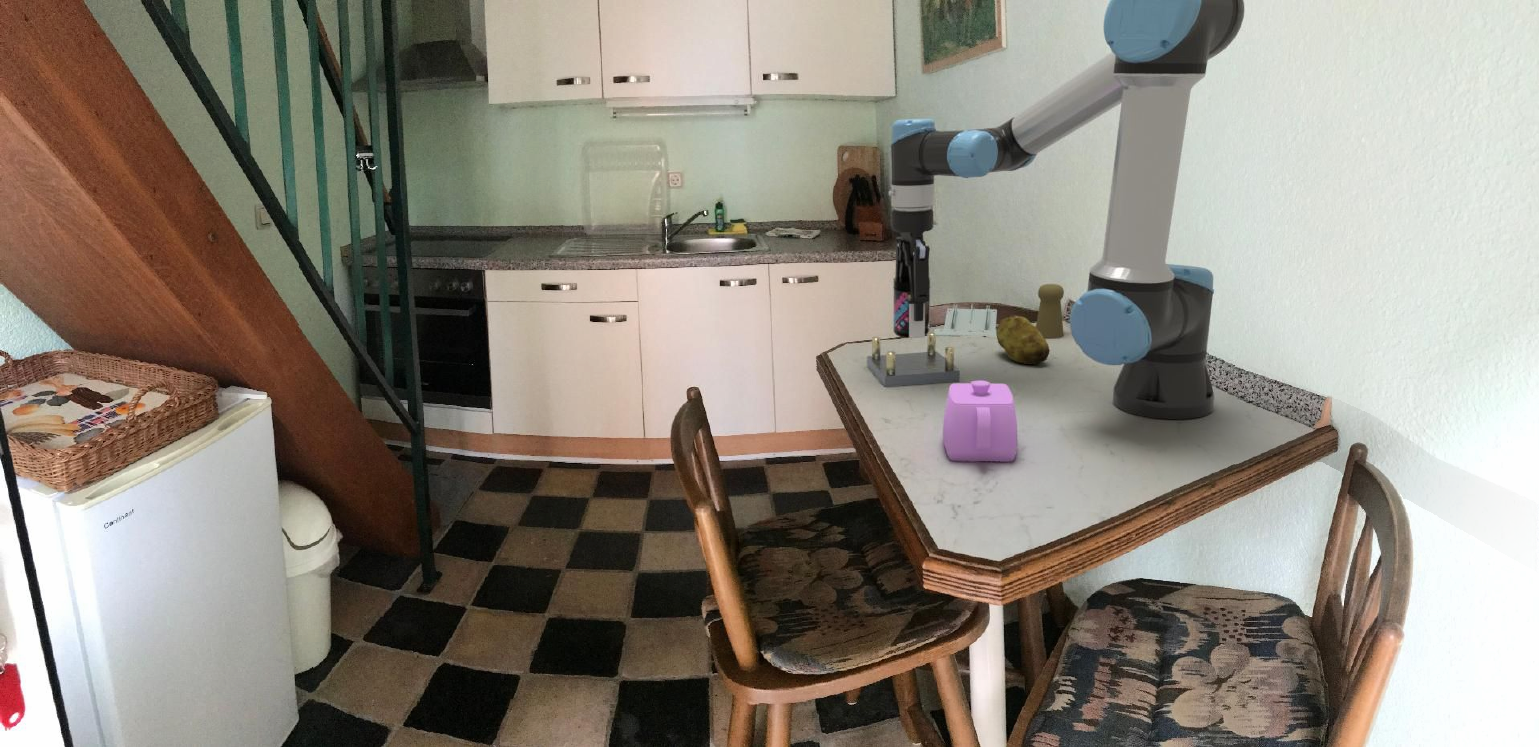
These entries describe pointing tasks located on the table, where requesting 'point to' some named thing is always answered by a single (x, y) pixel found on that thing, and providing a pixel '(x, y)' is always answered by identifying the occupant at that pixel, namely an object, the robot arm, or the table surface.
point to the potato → (1022, 340)
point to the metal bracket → (968, 322)
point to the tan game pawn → (1050, 311)
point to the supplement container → (905, 307)
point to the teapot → (980, 422)
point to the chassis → (913, 365)
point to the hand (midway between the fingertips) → (911, 332)
